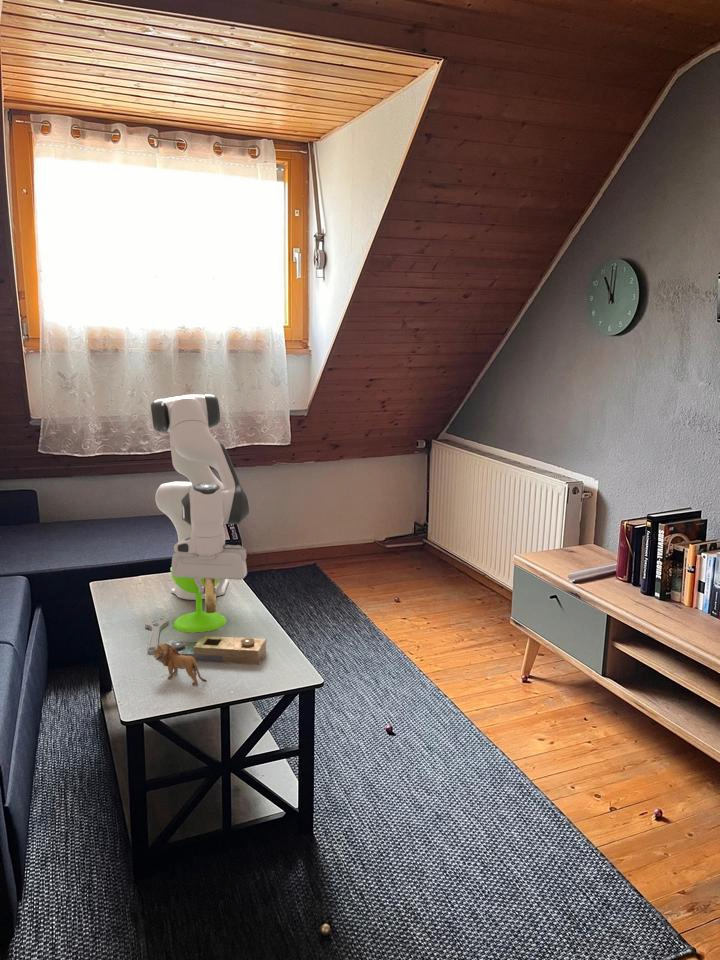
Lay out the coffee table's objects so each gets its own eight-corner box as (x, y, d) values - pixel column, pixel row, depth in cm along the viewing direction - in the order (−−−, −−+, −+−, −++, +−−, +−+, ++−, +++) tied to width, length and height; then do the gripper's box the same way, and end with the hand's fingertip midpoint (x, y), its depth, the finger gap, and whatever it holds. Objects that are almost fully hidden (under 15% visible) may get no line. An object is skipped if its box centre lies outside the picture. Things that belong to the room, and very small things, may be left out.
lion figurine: (151, 679, 193) (149, 646, 191) (163, 670, 198) (161, 638, 196) (201, 687, 188) (200, 654, 187) (212, 678, 193) (211, 646, 191)
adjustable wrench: (157, 655, 209) (156, 649, 208) (133, 656, 208) (133, 650, 208) (169, 621, 233) (169, 616, 233) (148, 622, 232) (147, 617, 232)
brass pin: (207, 609, 206) (206, 574, 204) (218, 609, 206) (216, 574, 204) (203, 612, 203) (202, 577, 201) (214, 613, 203) (213, 577, 201)
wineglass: (177, 636, 221) (174, 577, 218) (169, 617, 235) (166, 562, 232) (231, 628, 227) (229, 571, 223) (220, 610, 241) (218, 557, 238)
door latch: (170, 647, 213) (169, 630, 212) (266, 652, 209) (265, 635, 208) (159, 658, 205) (158, 641, 204) (258, 664, 201) (258, 647, 200)
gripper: (249, 542, 203) (250, 591, 205) (176, 539, 206) (179, 588, 208) (242, 548, 197) (244, 598, 199) (168, 545, 199) (170, 595, 202)
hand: (210, 593), depth 204 cm, fingers closed on brass pin, 3 cm apart
